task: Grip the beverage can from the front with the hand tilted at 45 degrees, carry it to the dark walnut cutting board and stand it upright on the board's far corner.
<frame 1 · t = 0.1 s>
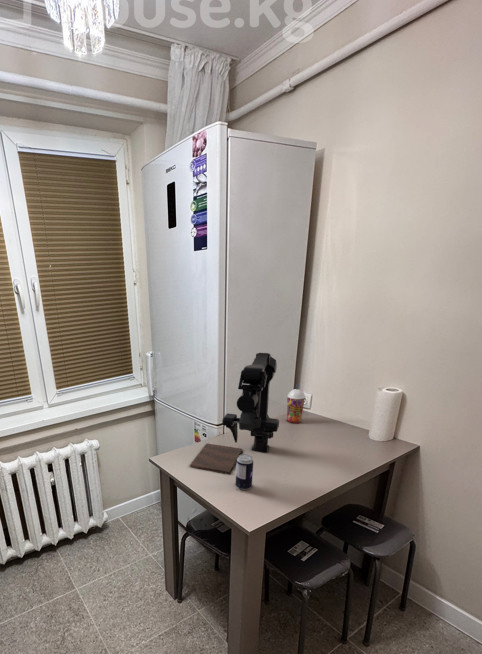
hand: (248, 444, 129), 15 cm above the table, tool pointing down, fingers open, 9 cm apart
board: (217, 458, 151), on the table
smoothie: (293, 421, 184), on the table
beverage can: (243, 487, 129), on the table
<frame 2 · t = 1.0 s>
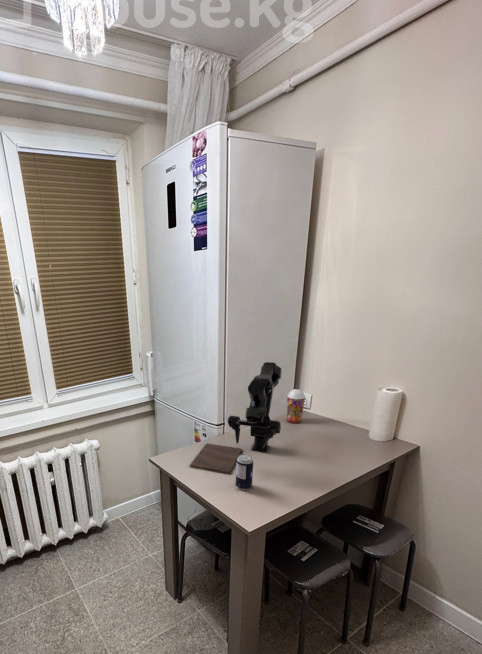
hand: (249, 445, 131), 13 cm above the table, tool tilted 45°, fingers open, 9 cm apart
nothing on the table moved.
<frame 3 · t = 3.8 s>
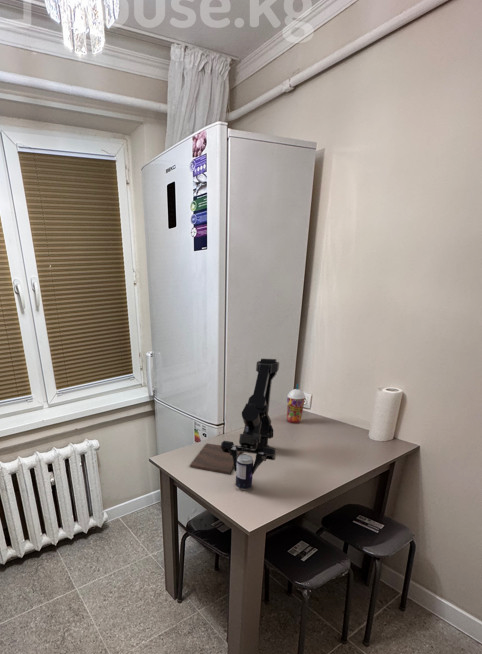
hand: (243, 472, 126), 7 cm above the table, tool tilted 45°, fingers closed on beverage can, 5 cm apart
beverage can: (243, 487, 129), on the table, touching gripper
everything else where it was.
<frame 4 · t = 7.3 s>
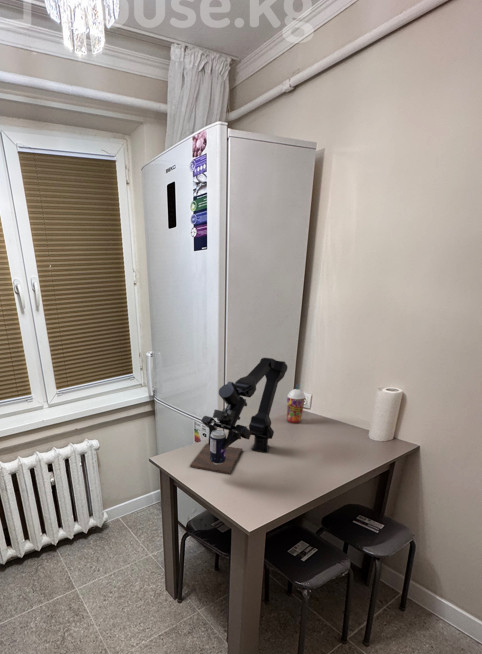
hand: (215, 447, 131), 13 cm above the table, tool tilted 45°, fingers closed on beverage can, 5 cm apart
beverage can: (217, 462, 134), point 6 cm above the table, touching gripper
everything else where it was.
when the fingers open (8 cm above the table, at t = 11.0 s): beverage can stays where it is, resting on board.
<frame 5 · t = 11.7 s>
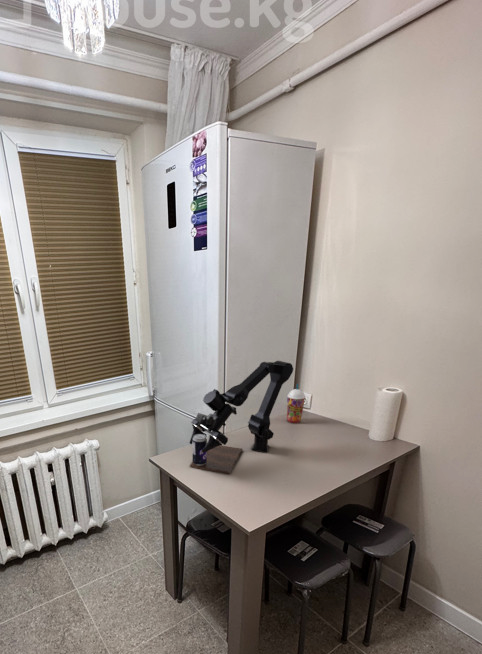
hand: (196, 447, 142), 8 cm above the table, tool tilted 45°, fingers open, 9 cm apart
beverage can: (199, 463, 146), point 1 cm above the table, touching board
everything else where it was.
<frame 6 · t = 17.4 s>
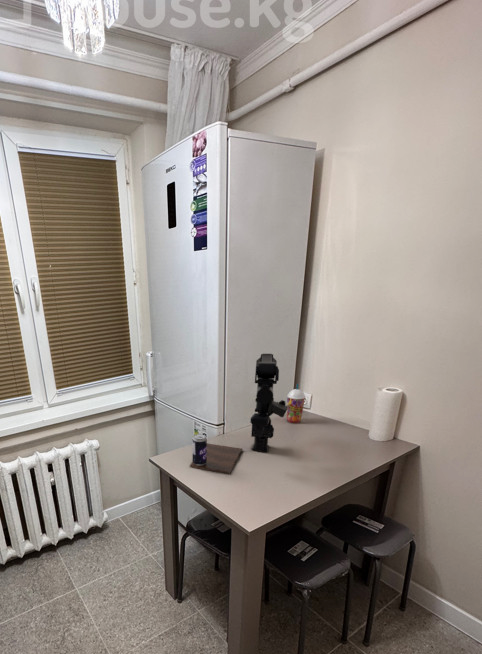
hand: (261, 433, 141), 13 cm above the table, tool pointing down, fingers open, 9 cm apart
nothing on the table moved.
at the end: beverage can inside the target area on the board (1.2 cm from its centre), point 0.8 cm above the board's base; beverage can tilted 0°; the gripper is holding nothing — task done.
